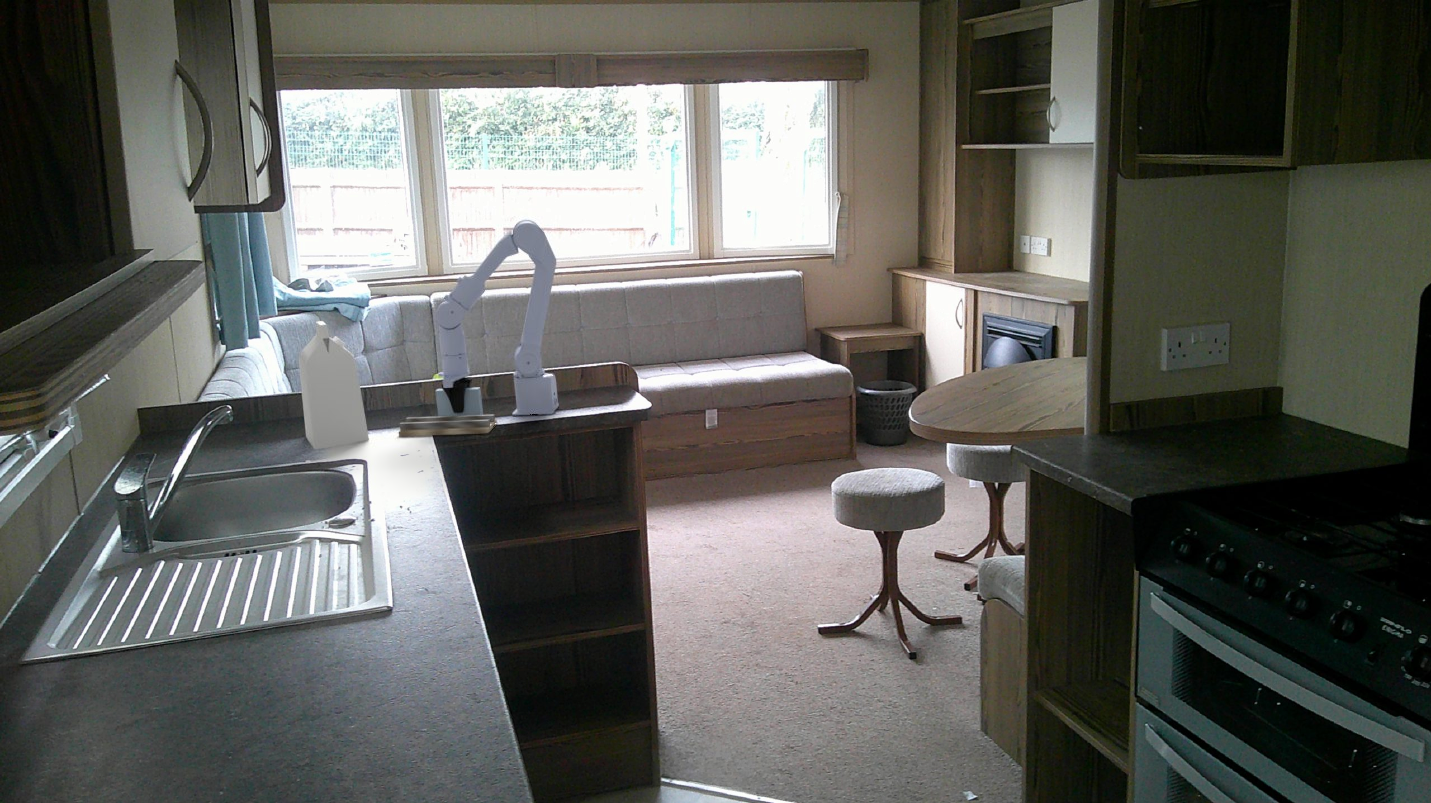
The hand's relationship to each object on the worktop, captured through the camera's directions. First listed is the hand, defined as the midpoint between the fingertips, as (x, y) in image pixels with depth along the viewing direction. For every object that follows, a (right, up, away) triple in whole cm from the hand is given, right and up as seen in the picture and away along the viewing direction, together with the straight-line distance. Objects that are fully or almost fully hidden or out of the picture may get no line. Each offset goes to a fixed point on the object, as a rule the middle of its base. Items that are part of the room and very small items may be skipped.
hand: (460, 411), depth 264 cm
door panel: (0, -2, 0) cm, 2 cm away
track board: (-1, -4, -9) cm, 10 cm away
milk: (-25, -6, -11) cm, 28 cm away
